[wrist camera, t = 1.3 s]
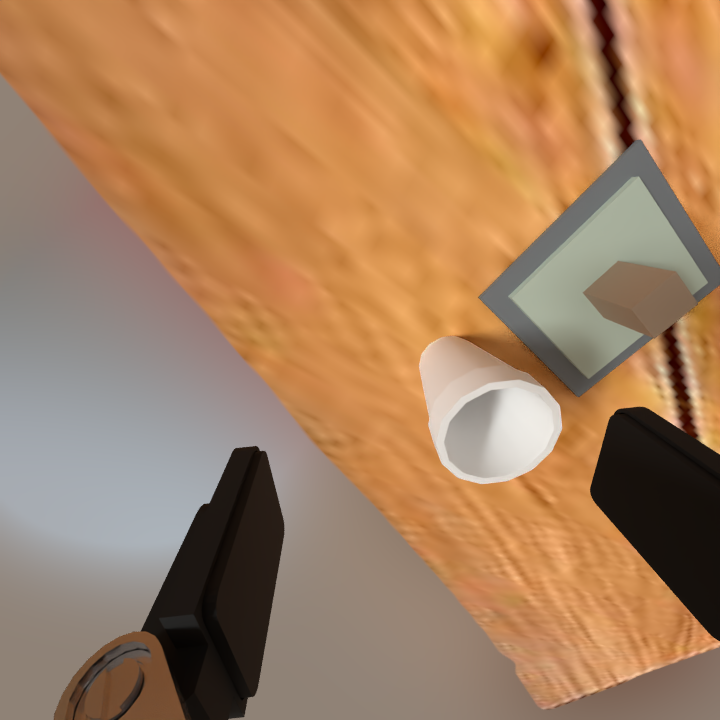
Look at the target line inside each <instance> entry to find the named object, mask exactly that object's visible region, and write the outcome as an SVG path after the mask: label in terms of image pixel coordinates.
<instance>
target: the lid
mask: <svg viewBox="0 0 720 720" xmlns="http://www.w3.org/2000/svg"><path fill="white" fill-rule="evenodd" d="M707 283H708V282H707V280H706V279H705V277H704V276H703V274H702V272H701V271H700V269H699V268H698V266H697V265H696V263H695V262H694V260H693V259H692V257H691V256H690V254H689V253H688V251H687V249H686V248H685V246H684V245H683V243H682V242H681V240H680V239H679V237H678V236H677V234H676V233H675V231H674V229H673V228H672V226H671V225H670V223H669V222H668V220H667V219H666V217H665V216H664V214H663V213H662V211H661V210H660V208H659V206H658V205H657V203H656V202H655V200H654V199H653V197H652V196H651V194H650V193H649V191H648V190H647V188H646V186H645V185H644V183H643V182H642V180H641V179H640V177H639V176H638V177H631V178H630V179H629V180H628V181H627V182H626V183H625V184H624V185H623V186H622V187H621V188H620V189H619V190H618V191H617V192H616V193H615V194H614V195H613V196H612V197H611V198H610V199H608V200H607V201H606V202H605V203H604V204H603V205H602V206H601V207H600V208H599V209H598V210H597V211H596V212H595V213H594V214H593V215H592V216H591V217H590V218H589V219H588V220H587V221H586V222H585V223H584V224H583V225H582V226H580V227H579V228H578V229H577V230H576V231H575V232H574V233H573V234H572V235H571V236H570V237H569V238H568V239H567V240H566V241H565V242H564V243H563V244H562V245H561V246H560V247H559V248H558V249H557V250H556V251H555V252H554V253H552V254H551V255H550V256H549V257H548V258H547V259H546V260H545V261H544V262H543V263H542V264H541V265H540V266H539V267H538V268H537V269H536V270H535V271H534V272H533V273H532V274H531V275H530V276H529V277H528V278H527V279H526V280H525V281H523V282H522V283H521V284H520V285H519V286H518V287H517V288H516V289H515V290H514V291H513V292H512V293H511V294H510V295H509V296H508V297H509V298H510V299H511V300H512V301H513V302H514V303H515V304H516V305H517V306H518V307H519V308H520V309H521V311H522V312H523V313H524V314H525V315H526V316H527V317H528V318H529V319H530V320H531V321H532V322H533V323H534V324H535V325H536V326H537V327H538V328H539V329H540V330H541V331H542V333H543V334H544V335H545V336H546V337H547V338H548V339H549V340H550V341H551V342H552V343H553V344H554V345H555V346H556V347H557V348H558V349H559V350H560V351H561V352H562V353H563V355H564V356H565V357H566V358H567V359H568V360H569V361H570V362H571V363H572V364H573V365H574V366H575V367H576V368H577V369H578V370H579V371H580V372H581V373H582V374H583V375H584V376H585V377H586V378H588V379H589V378H591V377H592V376H593V375H594V374H596V373H597V372H598V371H599V370H600V369H602V368H603V367H604V366H605V365H607V364H608V363H609V362H610V361H612V360H613V359H614V358H615V357H617V356H618V355H619V354H620V353H622V352H623V351H624V350H625V349H626V348H628V347H629V346H630V345H631V344H633V343H634V342H635V341H636V340H638V339H639V338H640V337H641V336H643V335H647V336H649V337H652V338H654V339H655V338H656V337H657V336H658V335H660V334H661V333H662V332H663V331H665V330H666V329H667V328H668V327H670V326H671V325H672V324H673V323H675V322H676V321H677V320H678V319H680V318H681V317H682V316H684V315H685V314H686V313H687V312H689V311H690V310H691V309H692V308H694V307H695V306H696V305H697V304H698V303H697V301H696V300H695V298H694V297H693V294H695V293H696V292H697V291H698V290H700V289H701V288H702V287H703V286H705V285H706V284H707Z"/></svg>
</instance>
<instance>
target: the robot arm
mask: <svg viewBox="0 0 720 720" xmlns="http://www.w3.org/2000/svg"><path fill="white" fill-rule="evenodd" d="M590 492H591V496H592V499H593V501H594V502H595V503H596V504H597V506H598V507H599V508H600V509H601V510H602V511H603V512H604V514H605V515H606V516H607V517H608V518H609V519H610V520H611V522H612V523H613V524H614V525H615V526H616V527H617V529H618V530H619V531H620V532H621V533H622V534H623V535H624V537H625V538H626V539H627V540H628V541H629V542H630V543H631V545H632V546H633V547H634V548H635V549H636V550H637V551H638V553H639V554H640V555H641V556H642V557H643V558H644V559H645V561H646V562H647V563H648V564H649V565H650V566H651V567H652V569H653V570H654V571H655V572H656V573H657V574H658V575H659V577H660V578H661V579H662V580H663V581H664V582H665V583H666V585H667V586H668V587H669V588H670V589H671V590H672V591H673V593H674V594H675V595H676V596H677V597H678V598H679V599H680V601H681V602H682V603H683V604H684V605H685V606H686V607H687V609H688V610H689V611H690V612H691V613H692V614H693V616H694V617H695V618H696V619H697V620H698V621H699V622H700V624H701V625H702V626H703V627H704V628H705V629H706V630H707V631H708V633H709V634H710V635H711V636H713V637H714V638H715V639H717V640H718V641H720V455H719V454H718V453H716V452H715V451H713V450H712V449H710V448H709V447H707V446H705V445H704V444H702V443H701V442H699V441H698V440H696V439H695V438H693V437H691V436H690V435H688V434H687V433H685V432H684V431H682V430H681V429H679V428H677V427H676V426H674V425H673V424H671V423H670V422H668V421H667V420H665V419H663V418H662V417H660V416H659V415H657V414H656V413H654V412H652V411H651V410H649V409H647V408H645V407H633V408H623V409H618V410H617V411H616V412H615V413H614V415H612V416H611V417H610V419H609V422H608V426H607V429H606V433H605V437H604V440H603V444H602V448H601V451H600V455H599V458H598V462H597V466H596V469H595V473H594V477H593V480H592V484H591V488H590ZM283 538H284V520H283V516H282V513H281V508H280V504H279V501H278V497H277V492H276V489H275V485H274V481H273V477H272V473H271V469H270V465H269V461H268V457H267V454H266V452H265V451H260V450H259V448H258V447H257V446H253V447H243V448H236V449H234V451H233V452H232V454H231V457H230V459H229V461H228V463H227V466H226V468H225V470H224V472H223V474H222V477H221V479H220V481H219V483H218V486H217V488H216V490H215V492H214V495H213V497H212V499H211V501H210V503H209V504H203V505H202V506H201V507H200V509H199V510H198V512H197V514H196V516H195V518H194V520H193V522H192V524H191V526H190V528H189V530H188V533H187V535H186V537H185V539H184V541H183V543H182V545H181V547H180V549H179V552H178V554H177V556H176V558H175V560H174V562H173V564H172V566H171V568H170V571H169V573H168V575H167V577H166V579H165V581H164V583H163V585H162V588H161V590H160V592H159V594H158V596H157V598H156V600H155V602H154V604H153V607H152V609H151V611H150V613H149V615H148V617H147V619H146V622H145V623H144V626H143V628H142V630H141V632H132V633H128V634H126V635H123V636H120V637H118V638H116V639H114V640H113V641H111V642H110V643H108V644H106V645H104V646H103V647H102V648H101V649H100V650H98V651H97V652H96V653H95V654H94V655H93V656H91V657H90V658H89V659H88V660H87V661H86V662H85V663H84V665H83V666H82V667H81V668H80V669H79V670H78V671H77V673H76V674H75V675H74V676H73V678H72V679H71V681H70V683H69V684H68V686H67V687H66V689H65V691H64V692H63V694H62V696H61V699H60V701H59V703H58V706H57V708H56V711H55V713H54V720H228V719H231V718H239V717H244V715H245V710H246V704H247V699H248V697H253V696H255V694H256V691H257V688H258V683H259V678H260V672H261V666H262V660H263V655H264V649H265V643H266V637H267V631H268V626H269V619H270V614H271V608H272V602H273V596H274V590H275V584H276V579H277V573H278V567H279V561H280V556H281V550H282V544H283Z"/></svg>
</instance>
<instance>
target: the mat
mask: <svg viewBox="0 0 720 720" xmlns="http://www.w3.org/2000/svg"><path fill="white" fill-rule="evenodd" d="M638 176H639V177H640V179H641V180H642V182H643V183H644V185H645V186H646V188H647V190H648V191H649V193H650V194H651V196H652V197H653V199H654V200H655V202H656V203H657V205H658V206H659V208H660V210H661V211H662V213H663V214H664V216H665V217H666V219H667V220H668V222H669V223H670V225H671V226H672V228H673V229H674V231H675V233H676V234H677V236H678V237H679V239H680V240H681V242H682V243H683V245H684V246H685V248H686V249H687V251H688V253H689V254H690V256H691V257H692V259H693V260H694V262H695V263H696V265H697V266H698V268H699V269H700V271H701V272H702V274H703V276H704V277H705V279H706V280H707V282H708V283H707V284H706V285H705V286H703V287H702V288H701V289H700V290H698V291H697V292H696V293H695V294H693V297H694V298H695V300H696V301H697V303H698V302H699V301H700V300H701V299H703V298H704V297H705V296H706V295H708V294H709V293H710V292H711V291H713V290H714V289H715V288H716V287H718V286H719V285H720V267H719V265H718V263H717V262H716V260H715V258H714V257H713V255H712V254H711V252H710V250H709V249H708V247H707V246H706V244H705V242H704V241H703V239H702V238H701V236H700V234H699V233H698V231H697V229H696V228H695V226H694V225H693V223H692V221H691V220H690V218H689V217H688V215H687V213H686V212H685V210H684V209H683V207H682V205H681V204H680V202H679V200H678V199H677V197H676V196H675V194H674V192H673V191H672V189H671V188H670V186H669V184H668V183H667V181H666V180H665V178H664V176H663V175H662V173H661V171H660V170H659V168H658V167H657V165H656V163H655V162H654V160H653V159H652V157H651V155H650V154H649V152H648V151H647V149H646V147H645V146H644V144H643V142H642V141H641V139H640V140H636V141H635V142H634V143H633V144H632V145H631V146H630V147H629V148H628V149H627V150H626V151H625V152H624V153H623V154H622V155H621V156H620V157H619V158H618V159H617V160H616V161H615V162H614V163H613V164H612V165H611V166H610V167H609V168H608V169H607V170H606V171H605V172H604V173H603V174H602V175H601V176H600V177H599V178H598V179H597V180H596V181H595V182H594V183H593V184H592V185H591V186H590V187H589V188H588V189H587V190H586V191H585V192H584V193H583V194H582V195H581V196H580V197H579V198H578V199H577V200H576V201H575V202H574V203H573V204H572V205H571V206H570V207H569V208H568V209H567V210H566V211H565V212H564V213H563V214H562V215H561V216H560V217H559V218H558V219H557V220H556V221H555V222H554V223H553V224H552V225H551V226H550V227H549V228H548V229H546V230H545V231H544V232H543V233H542V234H541V235H540V236H539V237H538V238H537V239H536V240H535V241H534V242H533V243H532V244H531V245H530V246H529V247H528V248H527V249H526V250H525V251H524V252H523V253H522V254H521V255H520V256H519V257H518V258H517V259H516V260H515V261H514V262H513V263H512V264H511V265H510V266H509V267H508V268H507V269H506V270H505V271H504V272H503V273H502V274H501V275H500V276H499V277H498V278H497V279H496V280H495V281H494V282H493V283H492V284H491V285H490V286H489V287H488V288H487V289H486V290H485V291H484V292H483V293H482V294H481V295H480V296H479V297H478V298H479V299H480V300H481V301H482V302H483V303H484V304H485V305H486V306H487V307H488V308H489V309H490V310H491V311H492V312H493V313H494V314H495V315H496V316H497V317H498V318H499V319H500V320H501V321H502V322H503V323H504V324H505V325H506V326H507V327H508V328H509V329H510V330H511V331H512V332H513V333H514V334H515V335H516V336H517V337H518V338H519V339H520V340H521V341H522V342H523V343H524V344H525V345H526V346H527V347H528V348H529V349H530V350H531V351H532V352H533V353H534V354H535V355H536V356H537V357H538V358H539V359H540V360H541V361H542V362H543V363H544V364H545V365H546V366H547V367H548V368H549V369H550V370H551V371H552V372H553V373H554V374H555V375H556V376H557V377H558V378H559V379H560V380H561V381H562V382H563V383H564V384H565V385H566V386H567V387H568V388H569V389H570V390H571V391H572V392H573V393H574V394H575V395H576V396H578V397H580V396H581V395H582V394H583V393H585V392H586V391H587V390H588V389H590V388H591V387H592V386H593V385H595V384H596V383H597V382H598V381H600V380H601V379H602V378H603V377H605V376H606V375H607V374H608V373H610V372H611V371H612V370H614V369H615V368H616V367H617V366H619V365H620V364H621V363H622V362H624V361H625V360H626V359H627V358H629V357H630V356H631V355H632V354H634V353H635V352H636V351H637V350H639V349H640V348H641V347H642V346H644V345H645V344H646V343H647V342H649V341H650V340H651V339H652V337H649V336H647V335H643V336H641V337H640V338H639V339H638V340H636V341H635V342H634V343H633V344H631V345H630V346H629V347H628V348H626V349H625V350H624V351H623V352H622V353H620V354H619V355H618V356H617V357H615V358H614V359H613V360H612V361H610V362H609V363H608V364H607V365H605V366H604V367H603V368H602V369H600V370H599V371H598V372H597V373H596V374H594V375H593V376H592V377H591V378H589V379H588V378H586V377H585V376H584V375H583V374H582V373H581V372H580V371H579V370H578V369H577V368H576V367H575V366H574V365H573V364H572V363H571V362H570V361H569V360H568V359H567V358H566V357H565V356H564V355H563V353H562V352H561V351H560V350H559V349H558V348H557V347H556V346H555V345H554V344H553V343H552V342H551V341H550V340H549V339H548V338H547V337H546V336H545V335H544V334H543V333H542V331H541V330H540V329H539V328H538V327H537V326H536V325H535V324H534V323H533V322H532V321H531V320H530V319H529V318H528V317H527V316H526V315H525V314H524V313H523V312H522V311H521V309H520V308H519V307H518V306H517V305H516V304H515V303H514V302H513V301H512V300H511V299H510V298H509V297H508V296H509V295H510V294H511V293H512V292H513V291H514V290H515V289H516V288H517V287H518V286H519V285H520V284H521V283H522V282H523V281H525V280H526V279H527V278H528V277H529V276H530V275H531V274H532V273H533V272H534V271H535V270H536V269H537V268H538V267H539V266H540V265H541V264H542V263H543V262H544V261H545V260H546V259H547V258H548V257H549V256H550V255H551V254H552V253H554V252H555V251H556V250H557V249H558V248H559V247H560V246H561V245H562V244H563V243H564V242H565V241H566V240H567V239H568V238H569V237H570V236H571V235H572V234H573V233H574V232H575V231H576V230H577V229H578V228H579V227H580V226H582V225H583V224H584V223H585V222H586V221H587V220H588V219H589V218H590V217H591V216H592V215H593V214H594V213H595V212H596V211H597V210H598V209H599V208H600V207H601V206H602V205H603V204H604V203H605V202H606V201H607V200H608V199H610V198H611V197H612V196H613V195H614V194H615V193H616V192H617V191H618V190H619V189H620V188H621V187H622V186H623V185H624V184H625V183H626V182H627V181H628V180H629V179H630V178H631V177H638Z"/></svg>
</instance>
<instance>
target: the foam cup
mask: <svg viewBox="0 0 720 720" xmlns="http://www.w3.org/2000/svg"><path fill="white" fill-rule="evenodd" d="M419 369H420V374H421V379H422V384H423V389H424V394H425V399H426V404H427V409H428V414H429V423H428V426H429V429H430V432H431V436H432V439H433V442H434V445H435V448H436V450H437V453H438V455H439V458H440V460H441V463H442V464H443V465H444V466H445V467H446V468H447V469H448V470H450V471H451V472H452V473H453V474H454V475H455V476H457V477H458V478H460V479H464V480H468V481H472V482H475V483H479V484H487V483H495V482H504V481H509V480H511V479H513V478H515V477H517V476H520V475H522V474H524V473H526V472H528V471H530V470H533V469H534V468H535V467H536V466H537V465H538V464H539V463H540V462H541V461H542V460H543V459H544V458H545V457H546V456H547V455H548V454H549V453H550V452H552V450H553V448H554V445H555V443H556V441H557V439H558V437H559V434H560V432H561V430H562V422H561V411H560V405H559V404H558V403H557V402H556V401H555V399H554V398H553V397H552V396H551V395H550V393H549V392H548V391H547V390H546V389H545V388H544V387H543V386H542V385H541V384H540V383H539V382H537V381H536V380H535V379H534V378H533V377H532V376H531V375H529V374H528V373H526V372H523V371H520V370H517V369H515V368H513V367H512V366H510V365H508V364H506V363H505V362H503V361H501V360H500V359H498V358H496V357H495V356H493V355H491V354H490V353H488V352H486V351H485V350H483V349H481V348H479V347H478V346H476V345H474V344H473V343H471V342H469V341H467V340H465V339H462V338H460V337H457V336H448V337H441V338H439V339H437V340H435V341H434V342H432V343H430V344H429V345H428V346H427V348H426V349H425V350H424V352H423V353H422V354H421V359H420V364H419Z"/></svg>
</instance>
